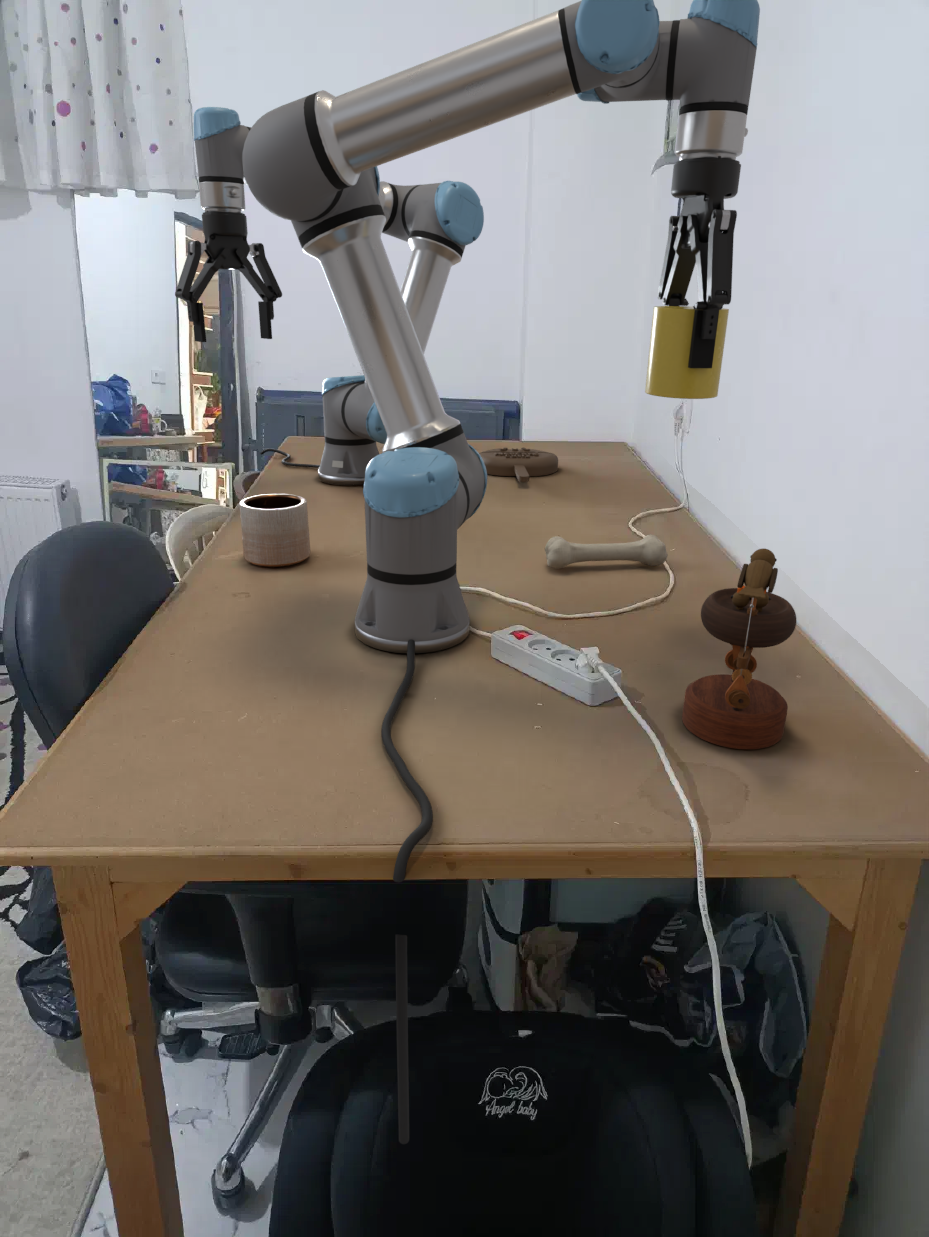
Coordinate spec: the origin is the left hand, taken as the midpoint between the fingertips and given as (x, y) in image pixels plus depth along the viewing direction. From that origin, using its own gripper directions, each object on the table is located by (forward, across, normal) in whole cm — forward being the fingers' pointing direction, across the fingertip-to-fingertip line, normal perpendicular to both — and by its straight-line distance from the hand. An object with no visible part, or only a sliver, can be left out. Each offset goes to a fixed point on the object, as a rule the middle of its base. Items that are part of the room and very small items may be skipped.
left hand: (234, 340), depth 155 cm
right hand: (-2, +12, -86) cm, 87 cm away
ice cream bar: (+32, +66, -13) cm, 74 cm away
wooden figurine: (+32, -8, -108) cm, 113 cm away
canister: (+2, +12, -86) cm, 87 cm away
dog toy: (+32, +25, -68) cm, 79 cm away
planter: (+32, -12, -28) cm, 45 cm away
